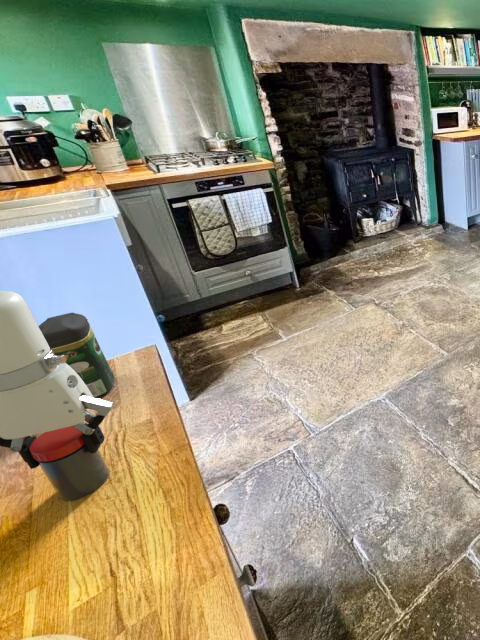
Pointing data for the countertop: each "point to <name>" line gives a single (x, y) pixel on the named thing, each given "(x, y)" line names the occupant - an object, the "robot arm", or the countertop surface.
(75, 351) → the coffee jar
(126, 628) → the countertop surface
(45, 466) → the jam jar
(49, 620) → the countertop surface
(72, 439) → the jam lid
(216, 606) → the countertop surface
